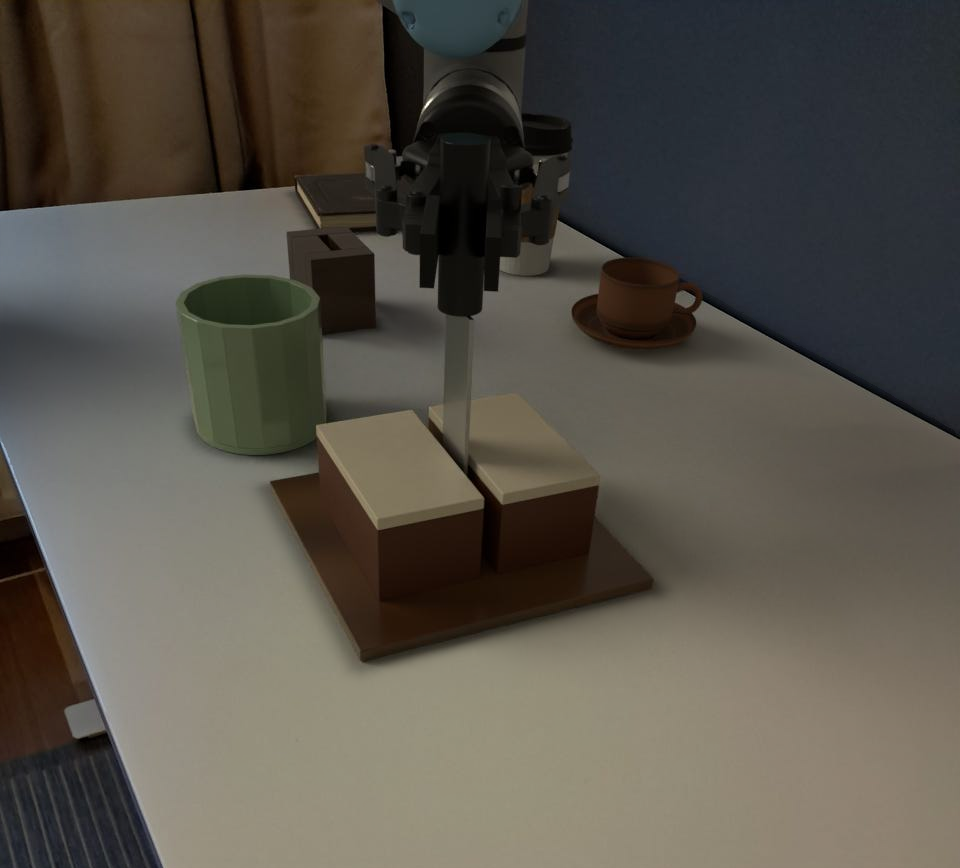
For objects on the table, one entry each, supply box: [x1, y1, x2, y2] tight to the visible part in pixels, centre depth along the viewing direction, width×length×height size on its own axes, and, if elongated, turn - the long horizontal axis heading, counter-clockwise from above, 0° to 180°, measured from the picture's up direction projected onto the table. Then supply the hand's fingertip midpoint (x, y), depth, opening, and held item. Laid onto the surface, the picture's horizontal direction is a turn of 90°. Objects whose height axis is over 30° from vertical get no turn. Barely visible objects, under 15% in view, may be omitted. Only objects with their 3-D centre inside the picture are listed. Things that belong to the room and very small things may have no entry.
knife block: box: [286, 226, 377, 336], centre depth 93 cm, size 8×6×7 cm
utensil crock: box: [175, 274, 328, 456], centre depth 74 cm, size 10×10×10 cm
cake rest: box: [316, 409, 484, 601], centre depth 63 cm, size 12×7×6 cm, turn 24°
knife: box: [437, 133, 491, 476], centre depth 58 cm, size 4×3×22 cm
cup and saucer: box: [571, 257, 703, 350], centre depth 93 cm, size 12×12×6 cm
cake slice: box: [427, 392, 601, 574], centre depth 66 cm, size 12×7×6 cm, turn 24°
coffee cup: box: [499, 111, 574, 277], centre depth 103 cm, size 8×8×15 cm
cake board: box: [269, 471, 655, 662], centre depth 67 cm, size 20×20×1 cm
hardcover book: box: [293, 172, 412, 233], centre depth 121 cm, size 16×23×2 cm
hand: (459, 263), depth 49 cm, fingers closed on knife, 3 cm apart
